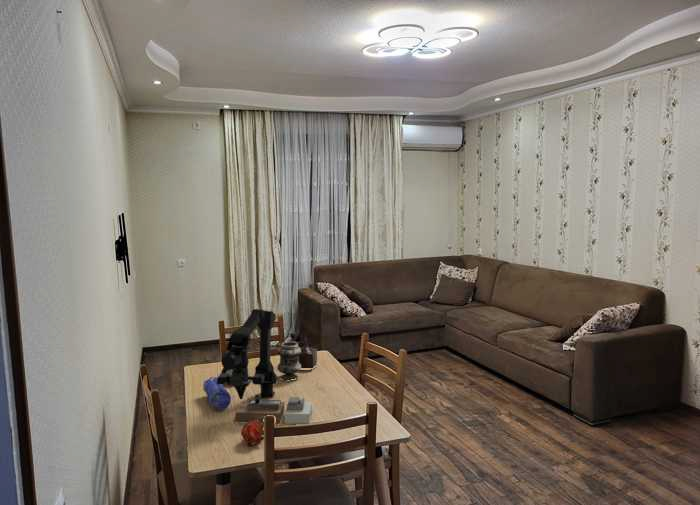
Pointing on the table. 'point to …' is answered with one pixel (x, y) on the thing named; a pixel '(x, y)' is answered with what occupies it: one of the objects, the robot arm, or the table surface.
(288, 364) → the apothecary jar
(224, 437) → the table surface
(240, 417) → the door board
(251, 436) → the dragon fruit
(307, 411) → the block
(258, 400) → the lock bolt
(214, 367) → the table surface
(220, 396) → the pencil case
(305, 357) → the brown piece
